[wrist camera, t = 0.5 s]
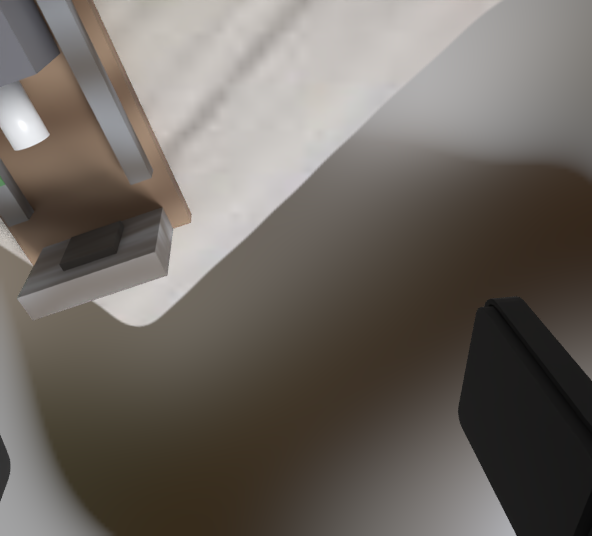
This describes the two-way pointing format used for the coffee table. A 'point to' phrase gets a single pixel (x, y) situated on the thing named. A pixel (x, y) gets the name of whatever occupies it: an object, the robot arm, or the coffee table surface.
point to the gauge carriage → (22, 69)
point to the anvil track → (87, 174)
